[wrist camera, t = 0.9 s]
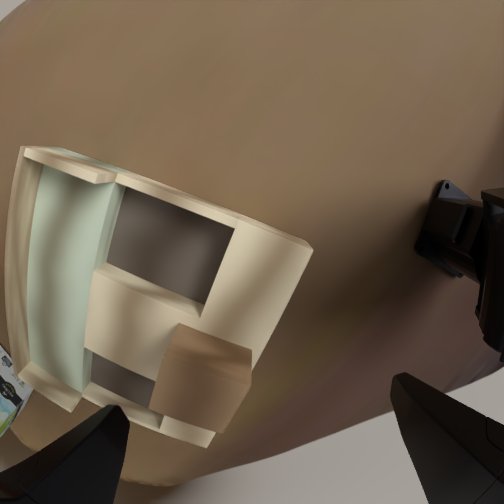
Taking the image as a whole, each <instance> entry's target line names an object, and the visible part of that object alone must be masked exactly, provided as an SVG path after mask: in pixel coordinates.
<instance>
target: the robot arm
mask: <svg viewBox="0 0 504 504" xmlns="http://www.w3.org/2000/svg"><path fill="white" fill-rule="evenodd" d="M445 184H446V185H447V187H446V188H445ZM481 199H482V200H483V202H480V201H475V200H472V199H471V198H470V197H469V196H467V195H466V194H465V193H464V192H463V191H461V190H460V189H459V188H458V187H456V186H455V185H454V184H453V183H451V182H450V181H448V180H442V181H441V183H440V185H439V188H438V191H437V194H436V196H435V198H434V200H433V202H432V205H431V208H430V210H429V213H428V215H427V217H426V220H425V222H424V225H423V228H422V231H421V233H420V235H419V238H418V240H417V242H416V244H415V247H414V250H415V252H416V253H417V254H419V255H421V256H422V257H424V258H426V259H428V260H430V261H431V262H433V263H435V264H437V265H438V266H440V267H442V268H443V269H445V270H447V271H449V272H450V273H452V274H454V275H455V276H457V277H459V278H461V277H463V275H465V276H467V277H468V278H470V279H472V280H473V281H475V282H477V283H478V284H480V289H479V297H478V304H477V306H476V309H475V314H476V316H477V318H478V320H479V326H480V328H481V330H482V333H483V334H484V336H483V340H484V341H485V342H486V343H487V344H488V345H489V346H490V347H491V348H492V349H494V350H495V351H497V352H498V353H500V354H501V356H500V361H501V362H504V188H497V189H489V190H482V191H481ZM420 246H422V249H421V250H420V251H419V248H420ZM459 272H460V273H459ZM390 398H391V402H392V405H393V408H394V412H395V414H396V418H397V421H398V425H399V428H400V432H401V435H402V438H403V441H404V443H405V446H406V448H407V450H408V453H409V455H410V457H411V460H412V462H413V465H414V467H415V469H416V472H417V475H418V477H419V480H420V482H421V485H422V487H423V490H424V492H425V495H426V498H427V500H428V503H429V504H504V425H503V424H501V423H499V422H497V421H495V420H493V419H491V418H489V417H486V416H485V415H483V414H481V413H479V412H477V411H475V410H474V409H472V408H470V407H467V406H466V405H464V404H462V403H461V402H459V401H457V400H455V399H453V398H451V397H449V396H448V395H446V394H444V393H442V392H440V391H439V390H437V389H435V388H433V387H431V386H430V385H428V384H426V383H424V382H422V381H421V380H419V379H417V378H415V377H414V376H412V375H410V374H408V373H406V372H403V373H400V374H397V375H394V376H393V379H392V385H391V392H390ZM129 428H130V422H129V419H128V418H127V416H126V415H125V413H124V411H123V410H122V408H121V407H120V406H119V405H117V404H108V405H106V406H105V407H103V408H102V409H100V410H99V411H98V412H96V413H95V414H93V415H92V416H90V417H89V418H88V419H86V420H85V421H83V422H82V423H80V424H79V425H77V426H76V427H74V428H73V429H72V430H70V431H69V432H67V433H66V434H64V435H63V436H61V437H60V438H58V439H57V440H55V441H54V442H52V443H51V444H49V445H48V446H46V447H45V448H43V449H41V451H38V452H37V453H35V454H34V455H32V456H30V457H29V458H27V459H26V460H24V461H22V462H20V463H18V464H17V465H14V466H12V467H10V468H8V469H6V470H4V471H2V472H0V504H113V503H114V498H115V494H116V490H117V486H118V482H119V478H120V474H121V471H122V467H123V463H124V458H125V452H126V446H127V440H128V434H129Z"/></svg>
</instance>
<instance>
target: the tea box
mask: <svg viewBox="0 0 504 504" xmlns="http://www.w3.org/2000/svg"><path fill="white" fill-rule="evenodd" d="M33 390H34V389H33V388H32V387H30V386H29V385H27V384H26V383H25V382H23V381H22V380H21V379H19V378H18V377H17V376H15V374H14V369H13V364H12V359H11V357H10V356H9V355H8V354H7V353H6V351H5V350H4V349H3V348H2V347H1V345H0V437H1V436H2V435H3V433H4V432H5V431H6V429H7V428H8V427H9V426H10V425H11V423H12V422H13V421H14V420H15V418H16V417H17V416H18V415H19V413H20V412H21V411H22V410H23V408H24V407H25V405H26V403H27V401H28V399H29V397H30V395H31V393H32V391H33Z"/></svg>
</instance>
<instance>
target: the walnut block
mask: <svg viewBox="0 0 504 504" xmlns="http://www.w3.org/2000/svg"><path fill="white" fill-rule="evenodd" d="M251 378H252V350H251V349H248V348H246V347H243V346H240V345H237V344H234V343H231V342H228V341H226V340H223V339H220V338H217V337H215V336H212V335H209V334H207V333H204V332H201V331H199V330H196V329H194V328H191V327H189V326H186V325H184V324H181V323H179V324H178V326H177V328H176V330H175V333H174V335H173V337H172V339H171V341H170V343H169V345H168V347H167V349H166V351H165V354H164V356H163V359H162V363H161V366H160V369H159V373H158V376H157V379H156V383H155V386H154V390H153V393H152V397H151V400H150V404H149V407H148V409H150V410H152V411H155V412H157V413H160V414H162V415H165V416H168V417H170V418H173V419H176V420H179V421H182V422H185V423H187V424H190V425H193V426H197V427H200V428H203V429H206V430H209V431H213V432H216V433H220V434H222V433H223V432H224V430H225V429H226V427H227V425H228V424H229V422H230V421H231V419H232V417H233V416H234V414H235V413H236V411H237V409H238V408H239V406H240V404H241V403H242V401H243V399H244V398H245V396H246V394H247V393H248V391H249V389H250V388H251Z"/></svg>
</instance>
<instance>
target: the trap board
mask: <svg viewBox="0 0 504 504" xmlns="http://www.w3.org/2000/svg"><path fill="white" fill-rule="evenodd" d="M312 253H313V249H312V248H311V246H310V245H309V244H308V242H307V241H305V240H302V239H300V238H298V237H295V236H293V235H290V234H288V233H286V232H283V231H281V230H278V229H276V228H274V227H271V226H269V225H266V224H264V223H261V222H259V221H257V220H254V219H252V218H249V217H247V216H244V215H242V214H239V213H237V212H234V211H232V210H229V209H227V208H224V207H222V206H219V205H217V204H214V203H212V202H209V201H207V200H204V199H201V198H199V197H196V196H194V195H191V194H188V193H186V192H183V191H181V190H178V189H175V188H173V187H170V186H167V185H165V184H162V183H159V182H157V181H154V180H151V179H149V178H146V177H143V176H141V175H138V174H135V173H132V172H130V171H127V170H124V169H121V168H118V167H116V166H113V165H110V164H107V163H104V162H102V161H99V160H96V159H93V158H90V157H87V156H84V155H81V154H78V153H75V152H73V151H70V150H67V149H64V148H60V147H40V146H21V148H20V152H19V156H18V160H17V164H16V169H15V174H14V179H13V185H12V190H11V197H10V203H9V211H8V220H7V230H6V243H5V305H6V319H7V329H8V338H9V345H10V352H11V358H12V364H13V369H14V374H15V376H17V377H18V378H19V379H21V380H22V381H23V382H25V383H26V384H27V385H29V386H30V387H32V388H33V389H34V390H36V391H37V392H39V393H40V394H42V395H43V396H45V397H46V398H48V399H49V400H51V401H53V402H54V403H56V404H57V405H59V406H61V407H62V408H64V409H66V410H67V411H69V412H71V413H72V411H73V410H74V408H75V407H76V405H77V404H78V402H79V401H80V399H81V398H82V397H83V398H85V399H87V400H89V401H91V402H93V403H95V404H97V405H98V406H100V407H102V408H103V407H105V406H106V405H108V404H117V405H119V406H120V407H121V408H122V410H123V411H124V413H125V415H126V416H127V418H128V419H129V420H130V421H132V422H135V423H137V424H139V425H142V426H144V427H147V428H149V429H152V430H154V431H157V432H160V433H162V434H165V435H168V436H171V437H173V438H176V439H179V440H182V441H185V442H188V443H192V444H195V445H198V446H201V447H205V448H207V446H208V445H209V443H210V442H211V440H212V438H213V437H214V435H215V433H216V432H213V431H209V430H206V429H203V428H200V427H197V426H193V425H190V424H187V423H185V422H182V421H179V420H176V419H173V418H170V417H168V416H165V415H162V414H160V413H157V412H155V411H152V410H150V409H148V407H149V404H150V400H151V397H152V393H153V390H154V386H155V383H156V379H157V376H158V373H159V369H160V366H161V363H162V359H163V356H164V354H165V351H166V349H167V347H168V345H169V343H170V341H171V339H172V337H173V335H174V333H175V330H176V328H177V326H178V324H179V323H181V324H184V325H186V326H189V327H191V328H194V329H196V330H199V331H201V332H204V333H207V334H209V335H212V336H215V337H217V338H220V339H223V340H226V341H228V342H231V343H234V344H237V345H240V346H243V347H246V348H248V349H251V350H252V370H253V368H254V366H255V364H256V363H257V361H258V359H259V357H260V355H261V353H262V352H263V350H264V348H265V346H266V344H267V342H268V340H269V338H270V337H271V335H272V333H273V331H274V329H275V327H276V325H277V323H278V321H279V319H280V317H281V316H282V314H283V312H284V310H285V308H286V306H287V304H288V302H289V300H290V298H291V296H292V294H293V292H294V290H295V288H296V286H297V284H298V282H299V280H300V278H301V276H302V273H303V271H304V269H305V267H306V265H307V263H308V261H309V259H310V257H311V255H312Z"/></svg>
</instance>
